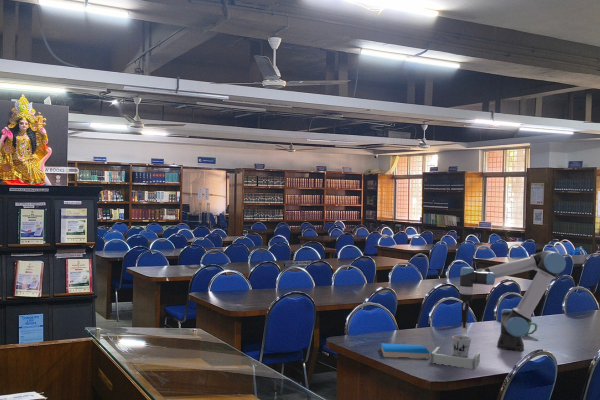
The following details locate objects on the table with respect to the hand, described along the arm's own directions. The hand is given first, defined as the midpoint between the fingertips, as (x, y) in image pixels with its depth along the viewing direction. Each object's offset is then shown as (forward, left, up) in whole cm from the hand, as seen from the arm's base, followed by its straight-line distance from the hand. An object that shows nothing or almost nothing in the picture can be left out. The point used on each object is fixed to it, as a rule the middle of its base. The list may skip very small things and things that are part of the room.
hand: (464, 333), depth 328 cm
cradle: (0, +30, -10) cm, 31 cm away
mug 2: (-31, -60, -10) cm, 68 cm away
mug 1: (0, +12, -10) cm, 15 cm away
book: (+28, +29, -10) cm, 42 cm away
